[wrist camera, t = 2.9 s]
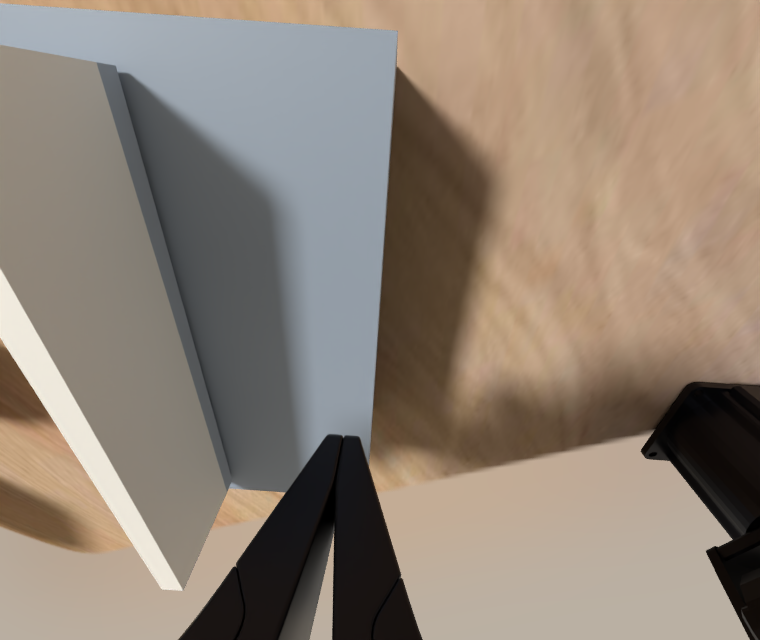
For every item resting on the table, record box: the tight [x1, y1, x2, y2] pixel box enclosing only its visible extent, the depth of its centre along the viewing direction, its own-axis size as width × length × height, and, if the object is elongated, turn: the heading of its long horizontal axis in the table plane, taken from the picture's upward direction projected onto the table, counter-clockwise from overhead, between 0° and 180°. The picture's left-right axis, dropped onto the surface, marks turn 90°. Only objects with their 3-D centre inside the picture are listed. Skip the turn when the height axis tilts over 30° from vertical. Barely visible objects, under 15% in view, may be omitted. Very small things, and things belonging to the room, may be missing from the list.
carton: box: [0, 4, 398, 492], centre depth 15 cm, size 18×10×6 cm, turn 177°
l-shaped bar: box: [0, 45, 232, 591], centre depth 10 cm, size 16×3×4 cm, turn 177°
